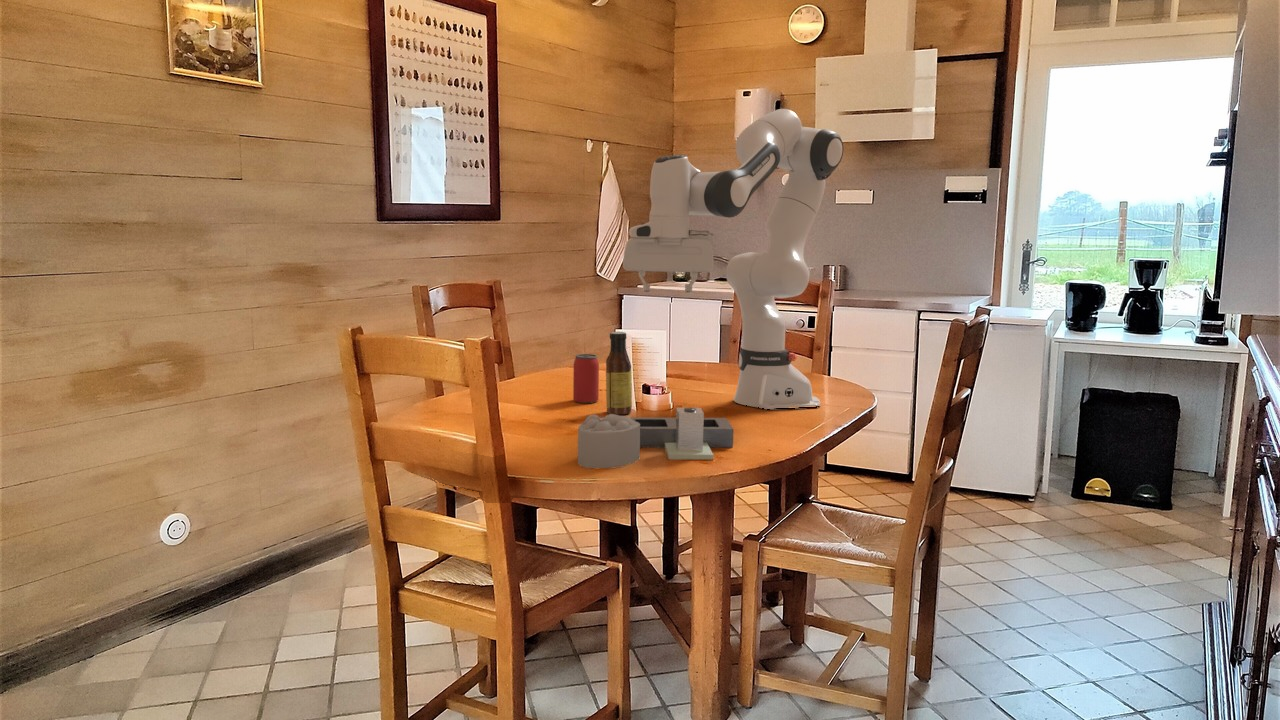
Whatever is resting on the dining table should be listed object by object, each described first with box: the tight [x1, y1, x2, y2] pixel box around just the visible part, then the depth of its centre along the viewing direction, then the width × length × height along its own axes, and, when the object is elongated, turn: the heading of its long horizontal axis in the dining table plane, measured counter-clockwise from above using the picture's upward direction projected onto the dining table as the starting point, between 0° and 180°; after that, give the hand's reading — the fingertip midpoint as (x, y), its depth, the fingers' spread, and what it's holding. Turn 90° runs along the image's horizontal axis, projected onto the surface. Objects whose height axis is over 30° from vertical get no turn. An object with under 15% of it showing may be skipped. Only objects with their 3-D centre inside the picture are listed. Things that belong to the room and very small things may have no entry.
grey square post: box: [675, 407, 705, 452], centre depth 175 cm, size 5×5×8 cm
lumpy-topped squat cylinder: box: [577, 413, 641, 469], centre depth 169 cm, size 10×13×9 cm
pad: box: [663, 443, 714, 460], centre depth 175 cm, size 9×9×1 cm
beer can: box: [572, 353, 600, 404], centre depth 221 cm, size 7×7×12 cm
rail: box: [628, 416, 734, 448], centre depth 184 cm, size 24×10×4 cm, turn 94°
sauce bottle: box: [605, 331, 633, 416], centre depth 208 cm, size 6×6×20 cm
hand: (667, 292), depth 192 cm, fingers open, 8 cm apart
